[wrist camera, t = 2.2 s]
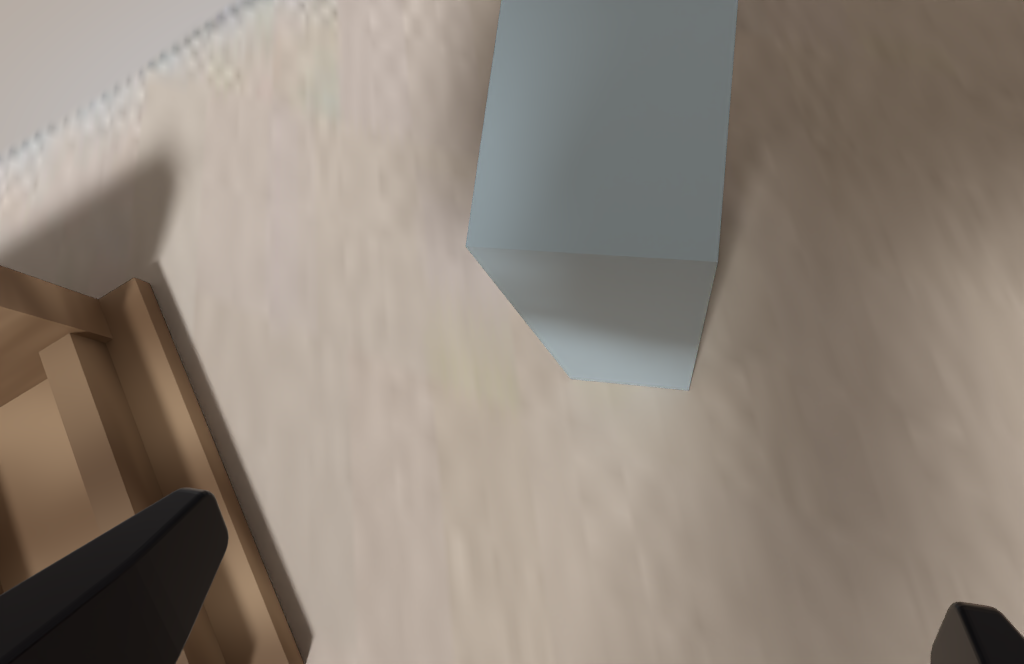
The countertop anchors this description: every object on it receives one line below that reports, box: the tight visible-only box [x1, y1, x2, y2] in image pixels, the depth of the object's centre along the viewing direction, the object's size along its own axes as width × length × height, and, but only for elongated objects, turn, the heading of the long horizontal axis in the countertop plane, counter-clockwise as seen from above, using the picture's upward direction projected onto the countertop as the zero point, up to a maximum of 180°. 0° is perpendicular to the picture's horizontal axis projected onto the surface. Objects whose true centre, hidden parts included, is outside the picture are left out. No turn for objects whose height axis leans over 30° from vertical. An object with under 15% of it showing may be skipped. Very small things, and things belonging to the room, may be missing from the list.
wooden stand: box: [0, 266, 304, 664], centre depth 22 cm, size 14×11×6 cm
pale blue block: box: [466, 0, 738, 390], centre depth 17 cm, size 6×4×12 cm, turn 172°
